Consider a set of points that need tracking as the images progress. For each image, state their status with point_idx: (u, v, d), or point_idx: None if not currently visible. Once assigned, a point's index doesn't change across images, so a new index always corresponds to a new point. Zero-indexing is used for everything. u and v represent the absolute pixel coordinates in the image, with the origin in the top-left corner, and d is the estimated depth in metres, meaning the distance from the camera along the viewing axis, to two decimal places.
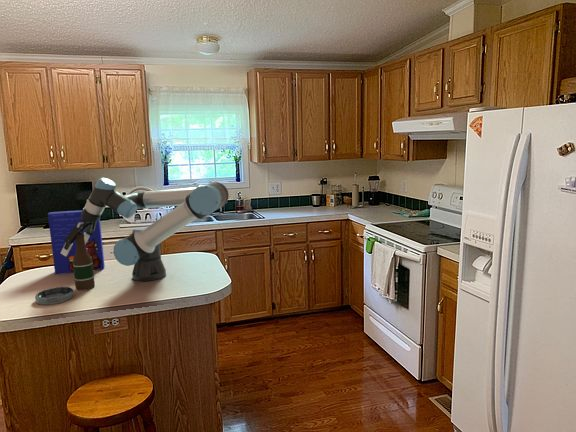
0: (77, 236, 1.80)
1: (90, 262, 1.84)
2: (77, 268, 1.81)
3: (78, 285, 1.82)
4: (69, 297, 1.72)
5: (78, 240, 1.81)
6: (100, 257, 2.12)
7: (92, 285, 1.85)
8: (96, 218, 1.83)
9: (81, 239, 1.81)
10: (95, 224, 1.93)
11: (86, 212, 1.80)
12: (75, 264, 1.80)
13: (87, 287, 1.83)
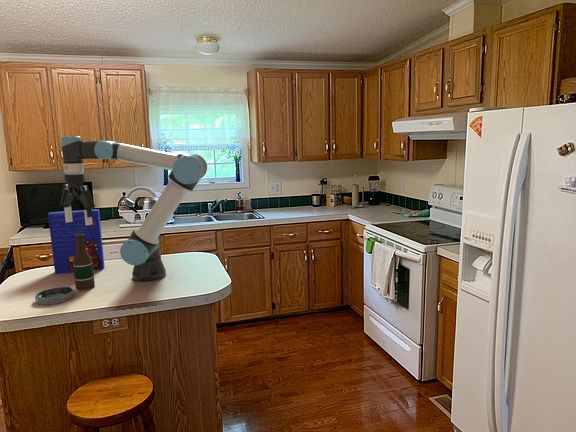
0: (77, 236, 1.80)
1: (90, 262, 1.84)
2: (77, 268, 1.81)
3: (78, 285, 1.82)
4: (69, 297, 1.72)
5: (78, 240, 1.81)
6: (100, 257, 2.12)
7: (92, 285, 1.85)
8: None
9: (81, 239, 1.81)
10: None
11: (77, 175, 1.75)
12: (75, 264, 1.80)
13: (87, 287, 1.83)
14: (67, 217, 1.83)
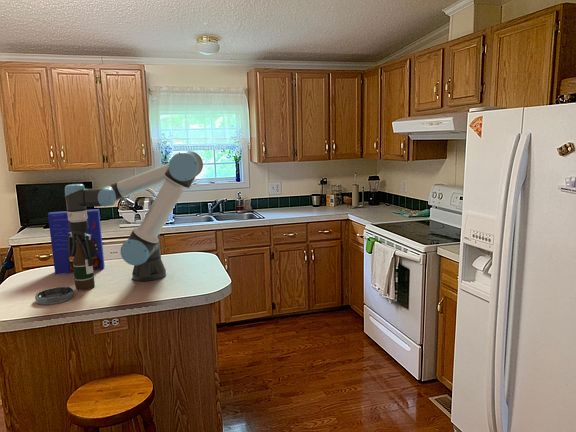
0: None
1: None
2: (77, 268, 1.81)
3: (78, 285, 1.82)
4: (69, 297, 1.72)
5: (78, 240, 1.81)
6: (100, 257, 2.12)
7: (92, 285, 1.85)
8: None
9: None
10: None
11: (81, 222, 1.78)
12: (75, 264, 1.80)
13: (87, 287, 1.83)
14: None
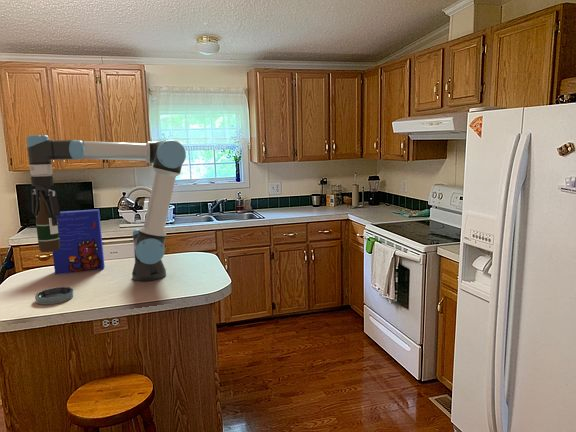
0: None
1: None
2: (40, 227, 1.65)
3: (41, 246, 1.66)
4: (69, 297, 1.72)
5: None
6: (100, 257, 2.12)
7: (57, 247, 1.69)
8: None
9: None
10: None
11: (45, 177, 1.63)
12: (38, 223, 1.65)
13: (51, 249, 1.67)
14: None
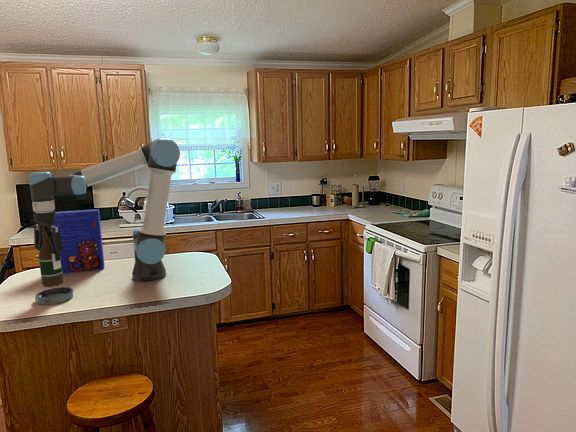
0: None
1: None
2: (43, 262, 1.67)
3: (44, 281, 1.68)
4: (69, 297, 1.72)
5: None
6: (100, 257, 2.12)
7: (60, 281, 1.71)
8: (55, 214, 1.69)
9: None
10: None
11: (47, 213, 1.64)
12: (41, 258, 1.66)
13: (54, 284, 1.69)
14: None
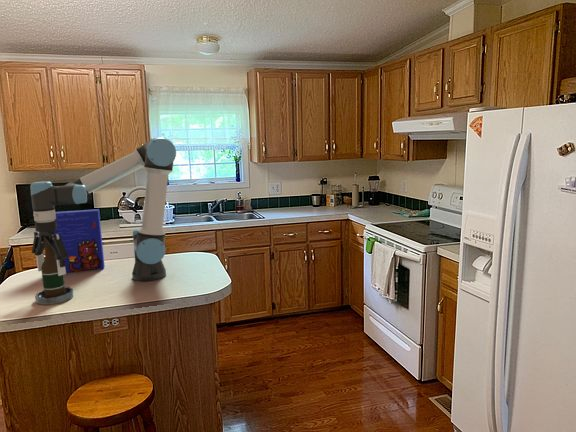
0: (46, 242, 1.67)
1: None
2: (46, 276, 1.67)
3: (47, 294, 1.69)
4: (69, 297, 1.72)
5: (47, 246, 1.67)
6: (100, 257, 2.12)
7: (62, 294, 1.72)
8: None
9: None
10: None
11: (49, 223, 1.65)
12: (43, 272, 1.67)
13: None
14: (39, 265, 1.73)
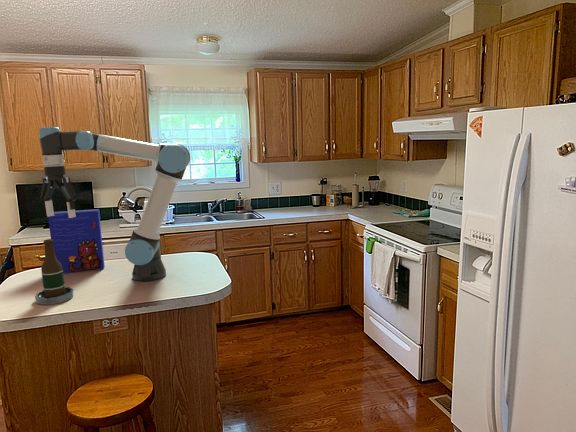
0: (45, 242, 1.67)
1: (60, 270, 1.70)
2: (45, 276, 1.67)
3: (47, 294, 1.69)
4: (69, 297, 1.72)
5: (47, 246, 1.67)
6: (100, 257, 2.12)
7: (62, 294, 1.72)
8: None
9: (50, 245, 1.68)
10: (48, 186, 1.79)
11: (58, 167, 1.71)
12: (43, 272, 1.67)
13: None
14: (48, 211, 1.79)
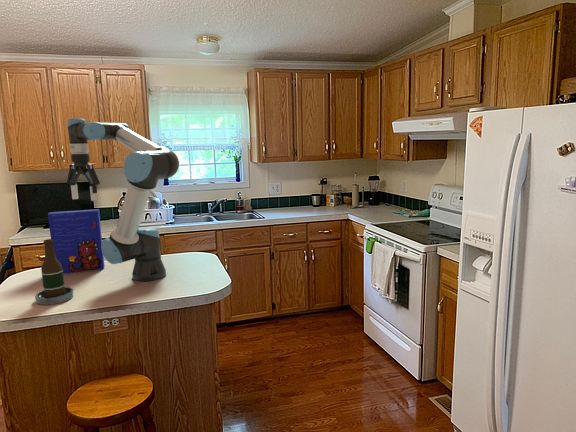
0: (45, 242, 1.67)
1: (60, 270, 1.70)
2: (45, 276, 1.67)
3: (47, 294, 1.69)
4: (69, 297, 1.72)
5: (47, 246, 1.67)
6: (100, 257, 2.12)
7: (62, 294, 1.72)
8: None
9: (50, 245, 1.68)
10: (74, 171, 1.98)
11: (83, 154, 1.90)
12: (43, 272, 1.67)
13: None
14: (73, 194, 1.98)
